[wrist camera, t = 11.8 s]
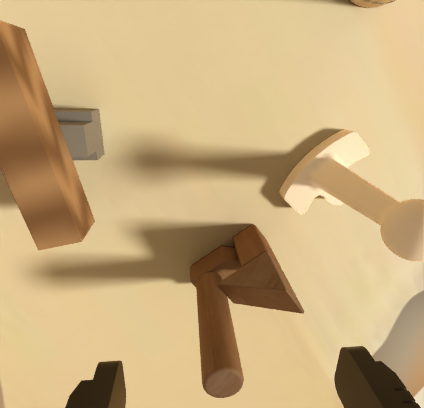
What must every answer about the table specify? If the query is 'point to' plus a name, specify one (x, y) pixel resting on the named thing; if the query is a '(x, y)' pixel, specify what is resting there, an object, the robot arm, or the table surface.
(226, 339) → the brown rod with wedge
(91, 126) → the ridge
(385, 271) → the table surface
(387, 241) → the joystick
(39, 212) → the walnut bar
